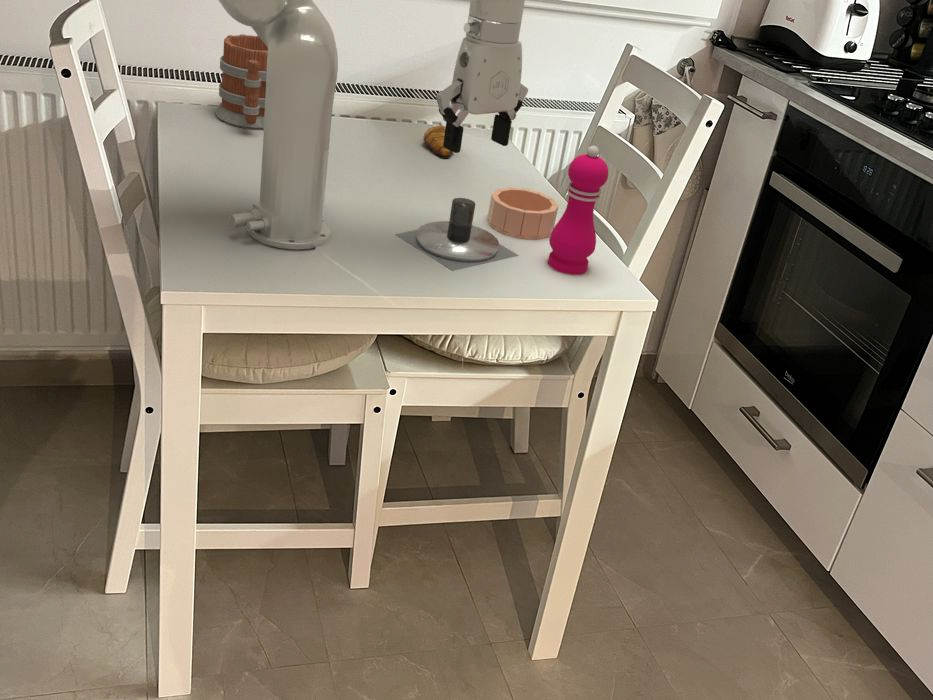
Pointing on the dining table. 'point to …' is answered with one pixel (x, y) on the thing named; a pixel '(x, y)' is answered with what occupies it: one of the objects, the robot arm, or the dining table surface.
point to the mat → (452, 265)
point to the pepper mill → (578, 215)
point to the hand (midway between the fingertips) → (475, 146)
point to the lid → (458, 236)
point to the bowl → (522, 213)
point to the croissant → (437, 141)
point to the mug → (243, 81)
